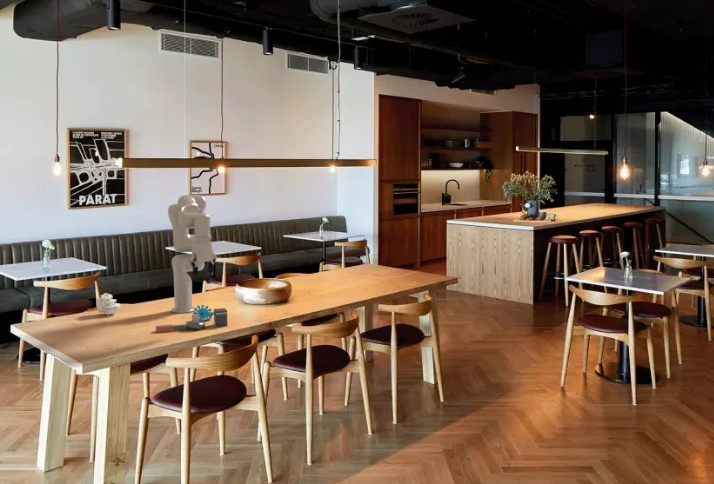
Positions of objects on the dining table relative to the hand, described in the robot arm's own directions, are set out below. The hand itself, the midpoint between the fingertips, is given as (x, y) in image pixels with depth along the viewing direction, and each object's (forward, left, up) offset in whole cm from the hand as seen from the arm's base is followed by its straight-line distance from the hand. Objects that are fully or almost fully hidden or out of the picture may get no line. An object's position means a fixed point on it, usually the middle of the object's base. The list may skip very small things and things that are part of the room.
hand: (203, 273), depth 320 cm
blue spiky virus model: (-18, +3, -28) cm, 33 cm away
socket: (-4, +9, -28) cm, 29 cm away
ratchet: (-1, -11, -28) cm, 30 cm away
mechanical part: (-48, -43, -28) cm, 70 cm away
